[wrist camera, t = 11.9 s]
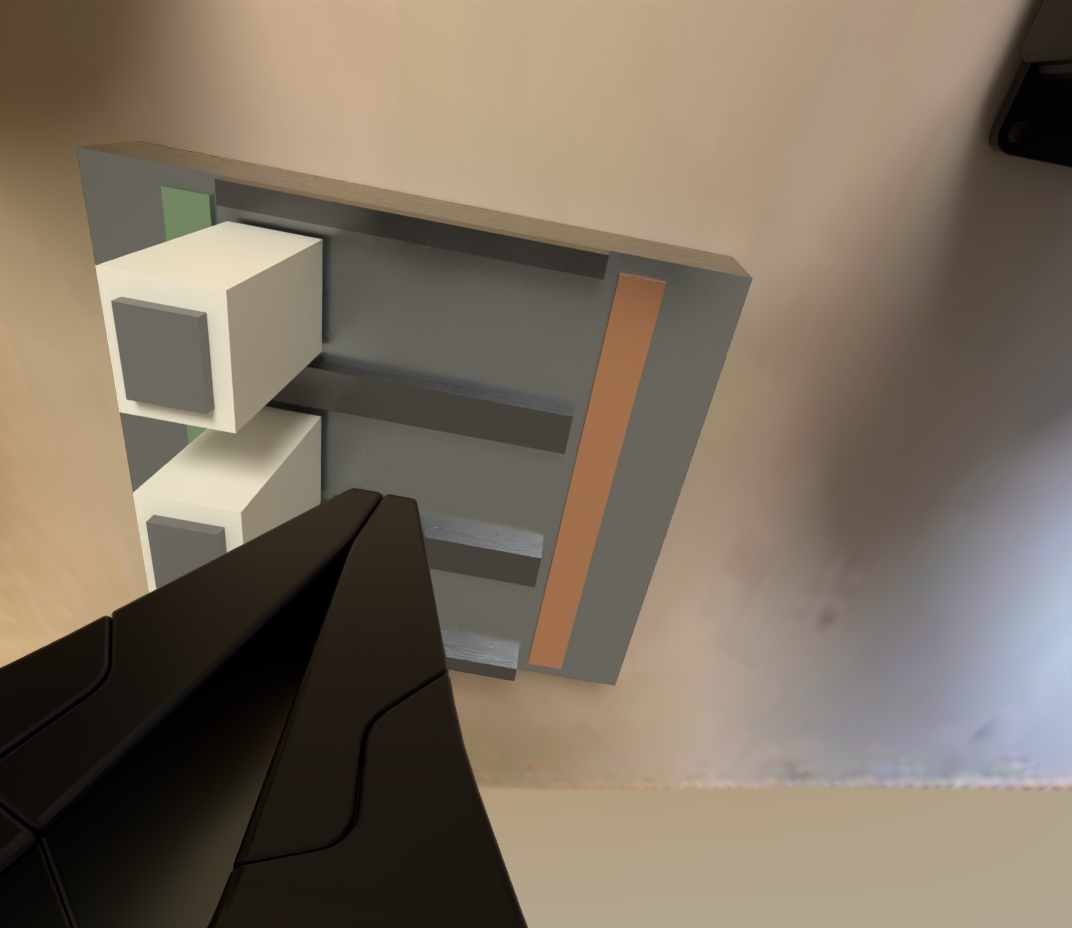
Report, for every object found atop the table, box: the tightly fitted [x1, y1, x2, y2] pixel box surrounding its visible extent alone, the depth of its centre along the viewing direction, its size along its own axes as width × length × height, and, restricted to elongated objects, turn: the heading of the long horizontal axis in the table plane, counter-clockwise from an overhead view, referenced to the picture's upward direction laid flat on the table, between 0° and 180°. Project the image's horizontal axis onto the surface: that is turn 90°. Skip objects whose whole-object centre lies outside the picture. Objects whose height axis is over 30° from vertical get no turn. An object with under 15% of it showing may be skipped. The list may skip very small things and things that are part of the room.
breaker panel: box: [76, 141, 752, 686], centre depth 21 cm, size 17×15×3 cm
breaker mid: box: [133, 406, 321, 593], centre depth 17 cm, size 2×3×5 cm
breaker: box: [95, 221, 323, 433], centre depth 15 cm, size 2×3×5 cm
